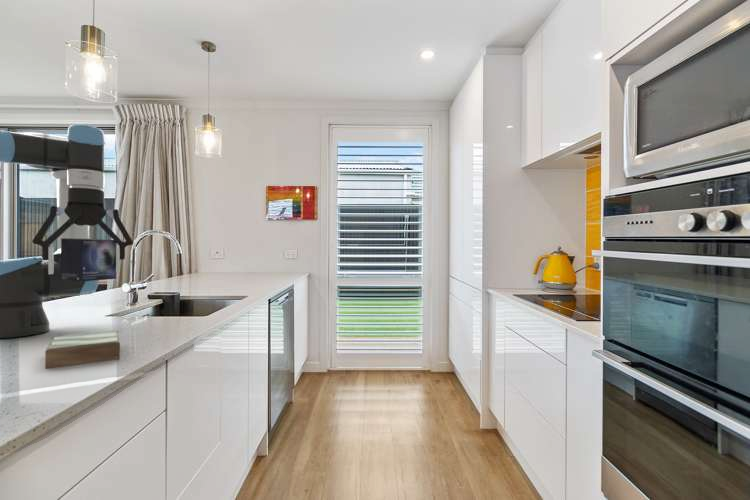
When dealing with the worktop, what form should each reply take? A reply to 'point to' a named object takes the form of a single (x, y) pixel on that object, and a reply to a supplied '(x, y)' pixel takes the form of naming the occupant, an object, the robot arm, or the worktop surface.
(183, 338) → the worktop surface
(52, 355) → the base block
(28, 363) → the worktop surface
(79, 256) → the small box
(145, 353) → the worktop surface
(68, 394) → the worktop surface
